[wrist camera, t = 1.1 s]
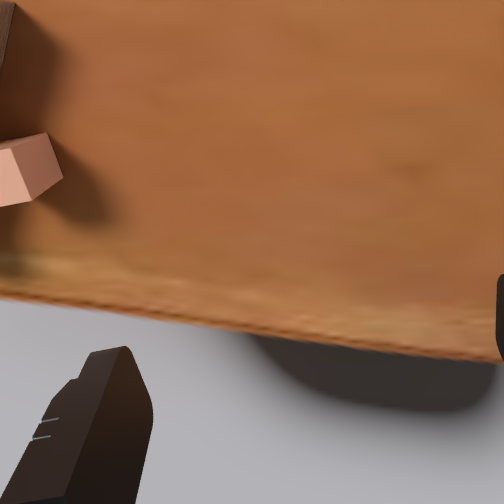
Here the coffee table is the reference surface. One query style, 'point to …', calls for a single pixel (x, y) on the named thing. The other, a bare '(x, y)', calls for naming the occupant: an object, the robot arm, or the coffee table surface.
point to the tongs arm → (5, 25)
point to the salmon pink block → (27, 168)
